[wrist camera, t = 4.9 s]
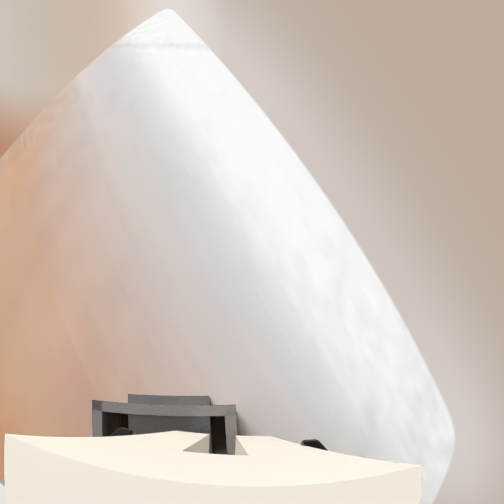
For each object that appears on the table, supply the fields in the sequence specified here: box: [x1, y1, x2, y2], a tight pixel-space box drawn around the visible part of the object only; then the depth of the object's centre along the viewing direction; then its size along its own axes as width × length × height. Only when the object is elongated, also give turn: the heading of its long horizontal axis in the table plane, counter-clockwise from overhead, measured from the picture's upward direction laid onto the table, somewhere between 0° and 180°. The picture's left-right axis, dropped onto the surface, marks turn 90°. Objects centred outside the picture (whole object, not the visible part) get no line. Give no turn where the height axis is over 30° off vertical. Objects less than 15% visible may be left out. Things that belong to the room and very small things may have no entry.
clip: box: [4, 431, 422, 504], centre depth 7 cm, size 3×4×12 cm
